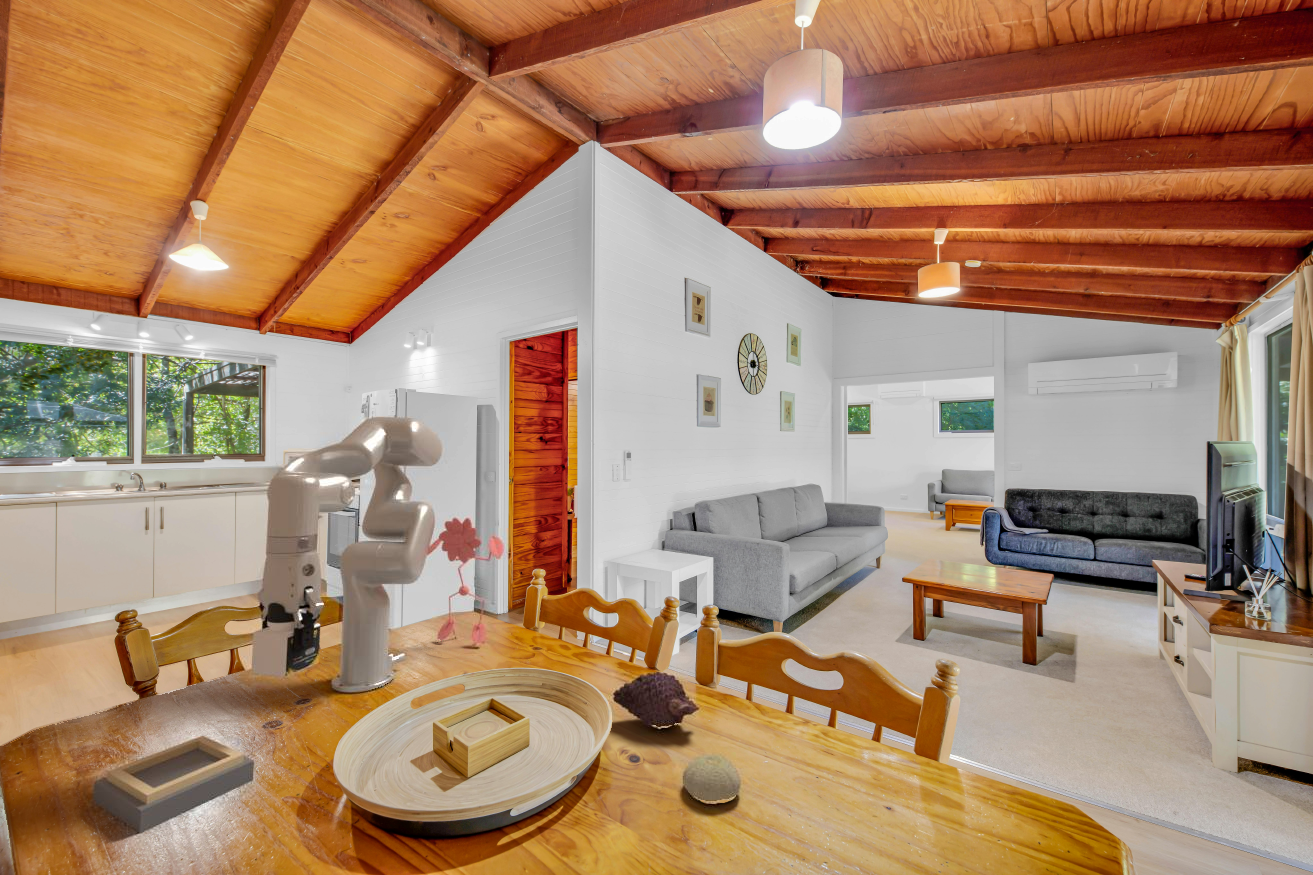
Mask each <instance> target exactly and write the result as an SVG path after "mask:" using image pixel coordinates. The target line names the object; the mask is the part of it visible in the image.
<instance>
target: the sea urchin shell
mask: <svg viewBox="0 0 1313 875" xmlns="http://www.w3.org/2000/svg"><path fill="white" fill-rule="evenodd" d="M682 785H683V786H685V787H684V789H685V788H686V789H687V790H688V791H689V792H690V793H691V794H692V795H693V796H695V797H697V798H698V799H701V800H705V801H717V800H722V799H729V798H731V797H734V796H735V795H737V794H738V793H739V792H740V790H741V785H742V784H741V778H740V774H739V772H738V769H737V768H736V767H735V765H734V764H733V763H732V762H731V761H730V760H729V758H726V757H724V756H722V755H721V754H715V753H703V754H701V755H698V756H697V757H696V758H694V759H692V760H691V761H690V762H689V763H688V765H687V766H686V767H685V769H684V771H683V772H682ZM686 789H685V790H686ZM739 789H740V790H739ZM687 790H686V791H687ZM691 794H690V795H691ZM692 795H691V796H692ZM738 795H739V794H738ZM693 796H692V797H693Z"/></svg>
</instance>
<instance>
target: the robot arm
mask: <svg viewBox="0 0 1313 875" xmlns="http://www.w3.org/2000/svg"><path fill="white" fill-rule="evenodd" d="M442 453H443V445H442V442H441V439H440V438H439V436H438V435H437V434H436V433H435V432H434V431H433V430H432V429H431V428H430V427H428V426H427V424H424V423H423V422H422V421H420V420H418V419H415V418H412V417H400V416H399V417H398V416H395V417H394V416H375V417H370V418H368V419H366V420H364V421H363V422H362V423H360V424H359V425H358V426H357V427H356V428H354V429H353V430H352V431H351V433H349V434H348V435H347V436H346V437H344V438H343V439H342V440H341V441H340V442H337V443H334V444H329V445H328V446H325V447H322V448H320V449H317V450H314V451H310V452H308V453H305V454H302V455H300V456H298V457H296V458H294V459H292V460H291V461H290V462H288V463H287V464H286V465H284V467H281V469H279V471H278V472H276V474H275V475H274V476H273V478H272V479H271V480H270V482H269V484H268V487H267V491H266V492H267V493H266V496H267V500H268V505H267V506H268V508H267V524H266V525H267V526H266V527H267V529H266V546H265V555H266V558H265V561H264V562H265V563H264V567H263V574H262V583H261V589H260V590H259V591H258V592H257V594H256V595H257V599H258V602H259V606H258V608H259V609H260V611H261V614H260V620H262V621H261V622H262V623H261V629H264V628H267V627H269V626H267V620H268V605H269V604H270V603H278V604H280V605H282V606H283V607H284V608H285V612H287V613H290V614H293V617H294V620H295V623H296V625H297V628H294V636H293V651H294V652H299V651H302V650H306V649H309V648H312V647H313V641H314V625H315V624H316V623H317V622H318V621H317V620H319V618H320V615H321V612H322V610H323V608H324V603H323V601H322V575H321V574H322V573H321V570H322V569H321V564H320V563H321V562H320V556H319V553H318V537H319V536H318V535H319V534H318V533H319V514H320V513H325V514H326V513H327V514H328V513H329V514H330V513H337V512H342V511H343V510H345V509H347V508H348V507H350V505H351V504H352V503H353V501H354V498H355V495H356V488H355V485H354V481H352V480H351V479H353V478H357V477H360V476H364V475H366V474H369V472H371V471H372V470H373V473H374V477H375V485H374V489H373V492H372V495H371V498H370V500H369V501H368V502H369V503H368V506H367V508H366V510H365V514H364V516H363V521H362V524H361V525H362V526H361V530H362V533H363V535H364V536H365V537H366V538H368V539H371V540H361V541H357V542H354V543H351V544H348V546H346V547H345V548H344V550H342V552H341V554H340V558H339V559H340V560H339V569H340V570H339V571H340V575H341V583H342V584H341V585H342V595H343V596H342V597H343V599H342V600H343V601H342V603H343V604H342V619H341V620H342V623H341V644H340V645H341V646H340V647H341V649H340V666H339V668H340V672H339V674H337V675H335V676H334V677H333V678H332V680H331V688H332V689H333V690H335V691H337V692H340V693H361V692H368V691H372V689H373V690H376V689H379V688H381V686H382V687H385V686H386V685H388V684H390V683H391V682H392V681H393V680H394V679H395V670H394V669H392V667H394V666H395V664H398V663H399V664H400V663H401V662H404V661H405V660H406V654H405V653H404V652H401V653H397V654H395V655H394V654H392V653H389V641H390V638H389V636H390V635H389V634H390V617H391V616H390V612H391V601H390V597H389V595H388V592H387V590H386V589H385V587H384V586H383V585H411V584H412V583H413V584H414V583H415V582H416V581H418V580H419V578H420V577H421V575H422V573H423V570H424V566H425V564H426V561H427V560H426V559H427V556H428V555H427V553H428V549H429V547H430V546H431V542H432V539H433V534H434V529H435V522H436V517H435V516H436V515H435V511H434V508H433V506H431V505H430V504H429V503H427V502H425V501H416V500H415V501H414V500H410V499H411V496H412V494H413V486H412V484H411V481H410V480H409V478H408V477H407V475H406V474H405V473H404V471H403V470H402V469H401V467H400V466H402V467H431V466H435V465H436V464H438V462H439V461H440V460H441V458H442ZM299 606H305V608H301V609H299ZM303 613H306V615H305V617H304V618H303V619H302V616H301V614H303ZM393 678H394V679H393ZM392 679H393V680H392ZM391 680H392V681H391ZM390 681H391V682H390ZM389 682H390V683H389ZM387 683H388V684H387ZM385 684H386V685H385ZM378 687H379V688H378ZM375 688H376V689H375Z"/></svg>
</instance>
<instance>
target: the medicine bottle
mask: <svg viewBox="0 0 1313 875" xmlns="http://www.w3.org/2000/svg"><path fill="white" fill-rule="evenodd" d="M301 608H305V606H299V609H301ZM305 615H306V613H303V614H301V616H302V619H303V618H304V617H305ZM267 626H269V627H267V628H264V629H262V628H261V629H259V630H255V631H254V632H253V634H252V653H251V674H252V675H260V676H267V677H278V678H289V677H291V676H293V675H295V674H297V673H299V672H302V671H304V670H306V669H308V668H311V667H313V666H315V665H318V663H319V662H320V660H319V659H320V642H321V641H320V640H321V638H320V637H321V624H320V623H319V622H318V623H316V624H315V625H314V641H313V647H312V648H309V649H306V650H302V651H299V652H294V651H293V636H294V628H297V625H296V623H295V620H294V617H293V614H290V613H287V612H285V608H284V607H283V606H282V605H280V604H278V603H270V604H269V605H268V620H267Z"/></svg>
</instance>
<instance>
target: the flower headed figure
mask: <svg viewBox="0 0 1313 875" xmlns="http://www.w3.org/2000/svg"><path fill="white" fill-rule="evenodd" d="M444 528H445V529H446V530H444V531H442V532H440V533H439V535H438V538H437V539H436V540H434V542H433V543H432V544H430V546H429V549H428V553H427V556H429V555H430V554H432V552H433V551H435V549H437V548H438V546H439V545H440V544H441V543H442V544H441V551H443V552H447V557H448V560H449V562H454V561H458V562H459V561H460V562H462V563H461V564H460V565H459V566H458V568H457V571H458V574H459V578H460V582H461V586H460V587H459V590H458V591H457V592H455V593H454V594H452V595H450V596H449V597H448V607H449V609H448V611H449V612H448V615H449V616H448V617H449V619H448V620H446V621H445V622H444V623H443V624H442V626H441V627H440V629H439V631H438V633H437V634H438V635H437V639H440V640H441V641H442V640H443V641H444V640H445V639H447V638H448V637H449V636H450V634H451V633H452V632H453V635H454V634H456V635H457V633H456V630H455V624H456V620H455V619H454V618H452V616H451V615H452V614H451V612H452V611H451V608H452V607H451V598H452V597H453V596H456V595H458V594H459V595H460V596H463V597H464V596H467V595H469V596H472V597H474V598H476V599H478V600H481V601H482V606H481V611H480V618H479V622H477V623H475V624H474V626H473V629H472V630H471V638H472V641H473V643H474V645H476V644H477V643H482V644H483V641H484V640H485V639H486V638H487V637H486V636H487V628H486V626H485V625H484V623H483V622H482V617H483V612H484V608H485V607H484V606H485V599H483V598H481V597H479V596H477V595H474V594H472V593H470V588H469V586H467V585H465V584H464V581H463V576H462V572H461V568H462V567H463V566H464V565H465V564H466V563H468V562H469V560H471V559H476V560H482V561H486V562H490V560H491V559H492V556H494V557H495V558H496V559H499V560H501V558H502V556H503V553H504V550H505V548H504V547H505V546H504V543H503V540H502V539H500V537H498V536H496V535H491V538H490V539H489V540H488V550H489V552H488V553H489V554H488V558H485V557H480V556H479V557H478V556H476V550H475V549H477V548H479V547H480V546H481V545H482V540H481V539H480V538H478V537H476V536H477V533H478V532H477V531H478V530H477V528H476V527H473V523H472V520H471V519H470V518H469V517H466V518H465V519H464V520H463V521H461V519H459V518H457V517H453V518H452V521H451V520H447V521H445V522H444ZM437 639H436V640H437Z"/></svg>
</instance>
